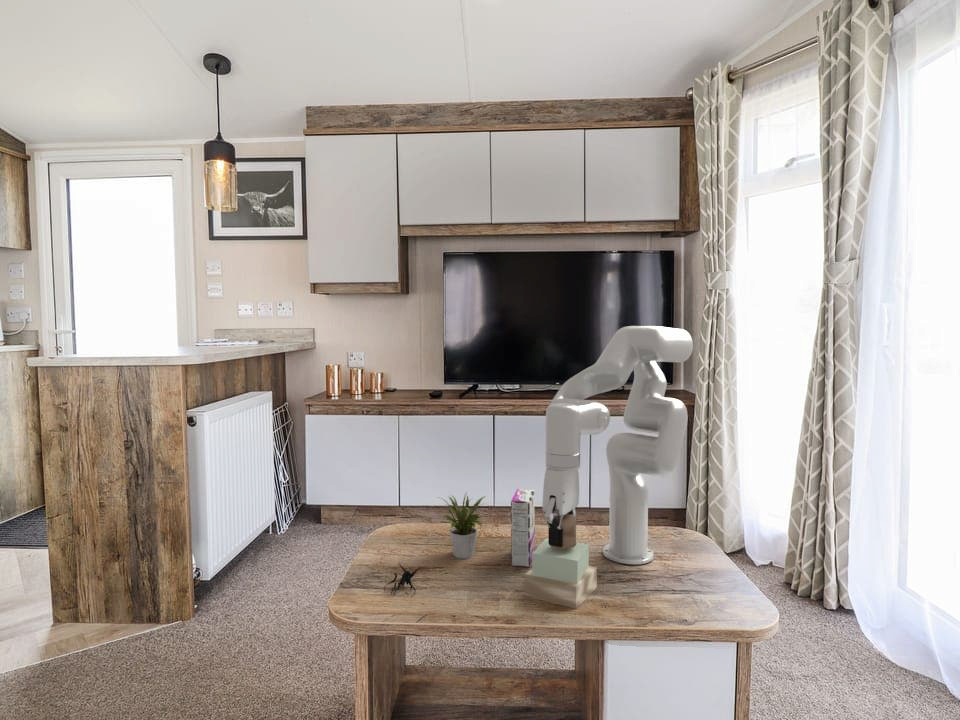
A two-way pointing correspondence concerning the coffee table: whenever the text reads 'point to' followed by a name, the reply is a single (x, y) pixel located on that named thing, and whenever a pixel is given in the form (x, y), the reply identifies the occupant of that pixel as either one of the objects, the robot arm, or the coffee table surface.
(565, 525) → the walnut cylinder
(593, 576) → the tower base
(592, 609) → the coffee table surface
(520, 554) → the candy bar box
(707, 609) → the coffee table surface
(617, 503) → the robot arm
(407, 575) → the creature
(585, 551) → the tower top
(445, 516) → the house plant
